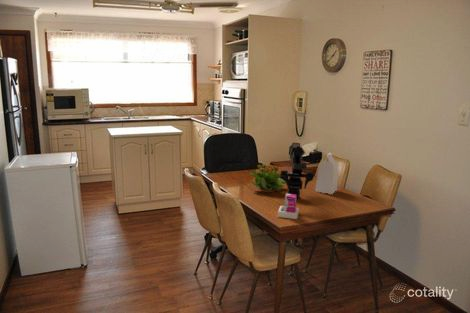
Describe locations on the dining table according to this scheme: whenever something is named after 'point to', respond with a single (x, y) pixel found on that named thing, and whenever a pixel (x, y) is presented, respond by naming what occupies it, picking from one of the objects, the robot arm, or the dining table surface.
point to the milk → (327, 176)
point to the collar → (287, 213)
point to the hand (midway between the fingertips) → (296, 188)
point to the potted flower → (267, 179)
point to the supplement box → (290, 203)
